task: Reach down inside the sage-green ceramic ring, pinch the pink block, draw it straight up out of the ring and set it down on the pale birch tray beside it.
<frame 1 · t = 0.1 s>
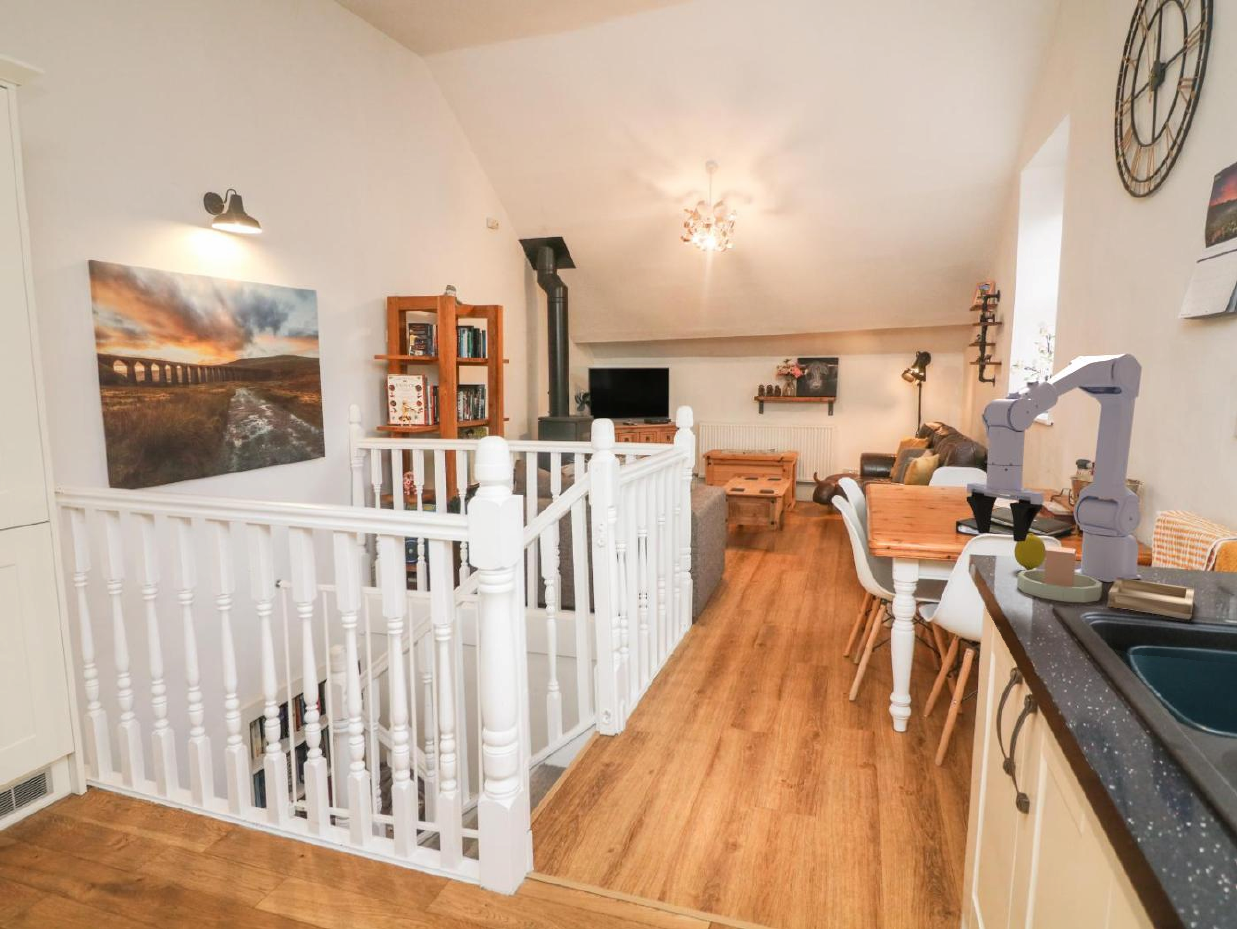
hand: (1001, 536, 127), 10 cm above the worktop, fingers open, 7 cm apart
ceramic ring: (1058, 591, 127), on the worktop
pink block: (1059, 570, 126), in the ceramic ring
lemon: (1028, 571, 142), on the worktop
birch tray: (1150, 604, 119), on the worktop
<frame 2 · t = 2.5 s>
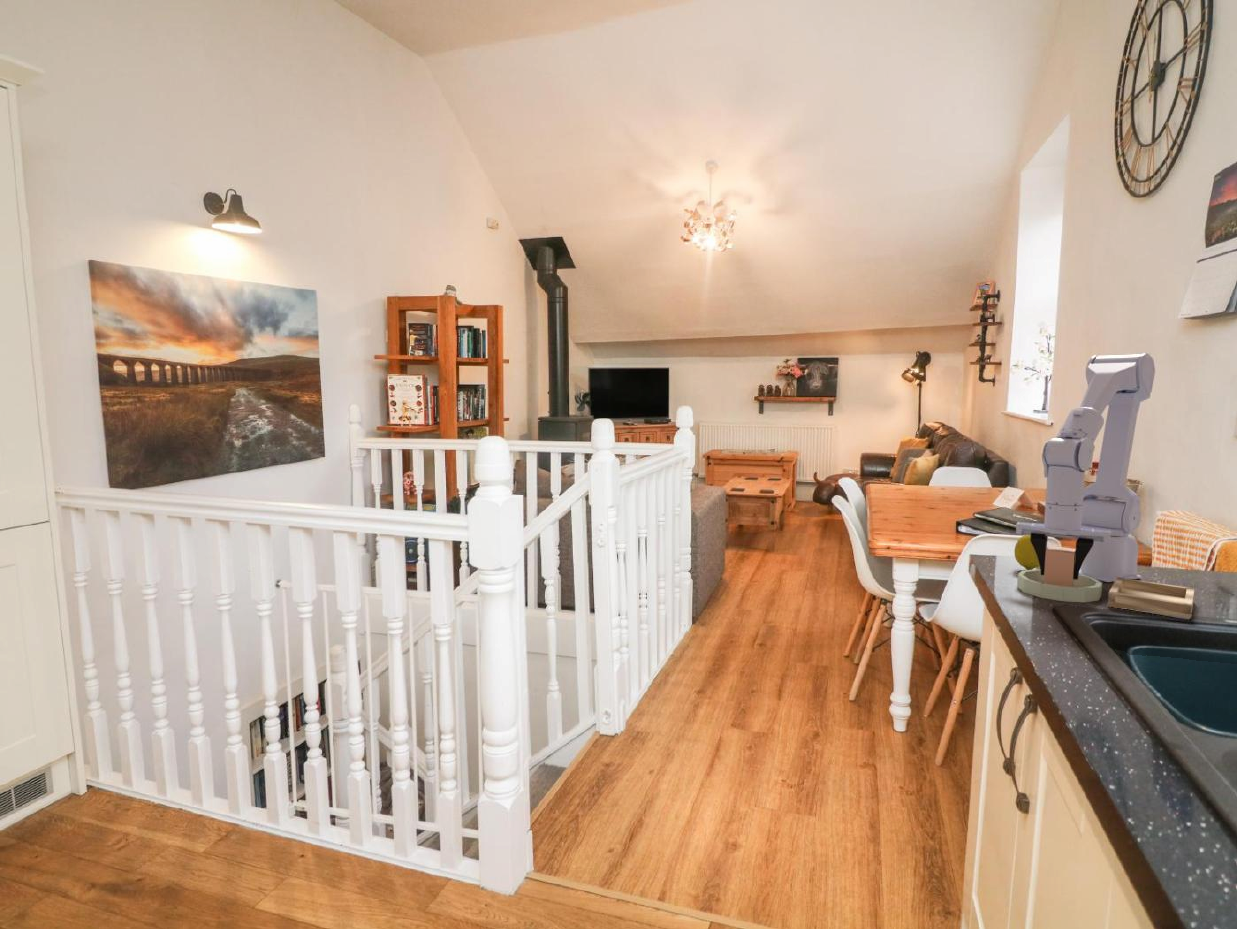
hand: (1059, 576, 127), 3 cm above the worktop, fingers closed on pink block, 4 cm apart
pink block: (1059, 570, 126), in the ceramic ring, touching gripper
everything else where it was.
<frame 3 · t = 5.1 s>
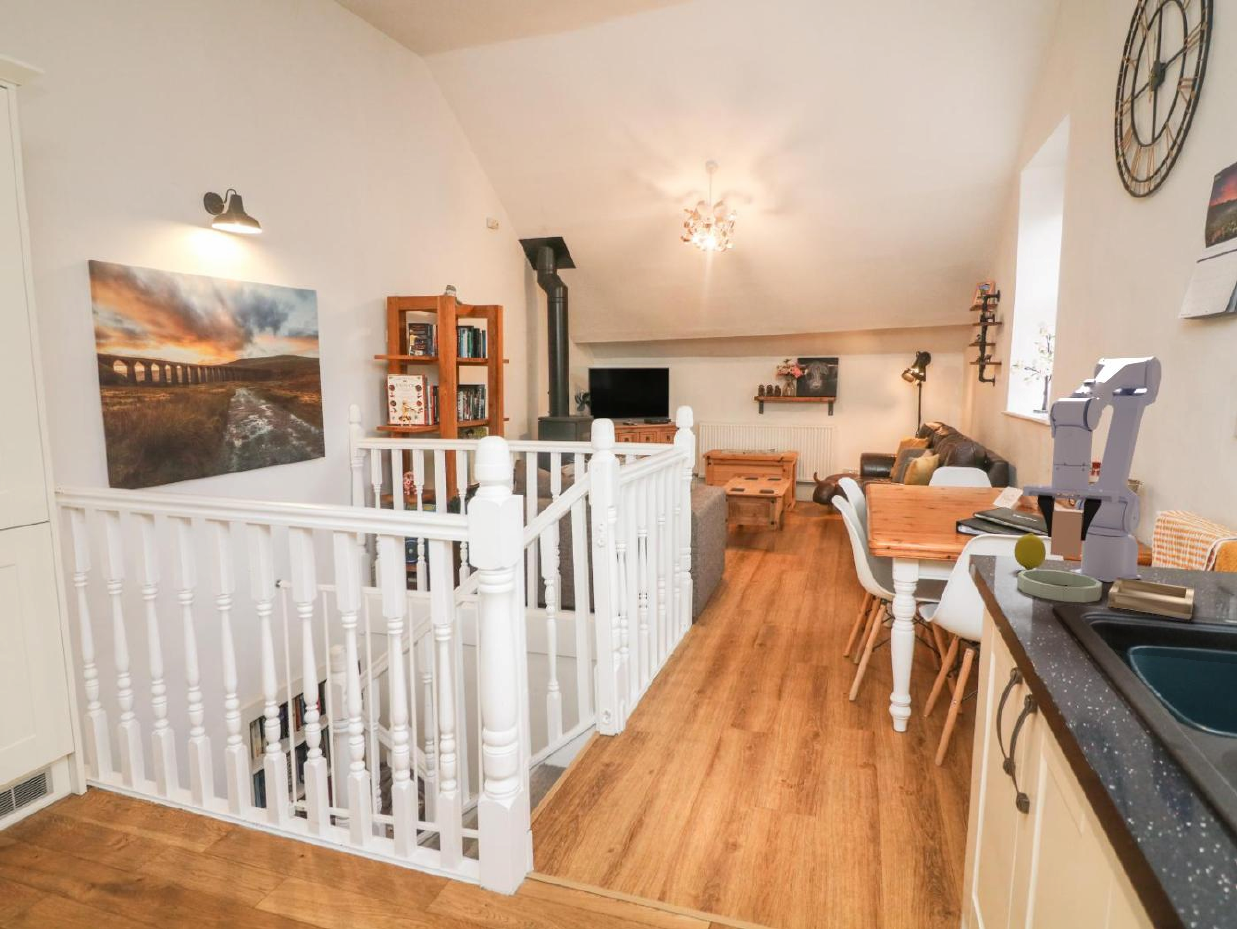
hand: (1066, 538, 125), 10 cm above the worktop, fingers closed on pink block, 4 cm apart
pink block: (1066, 532, 125), point 11 cm above the worktop, touching gripper
everything else where it was.
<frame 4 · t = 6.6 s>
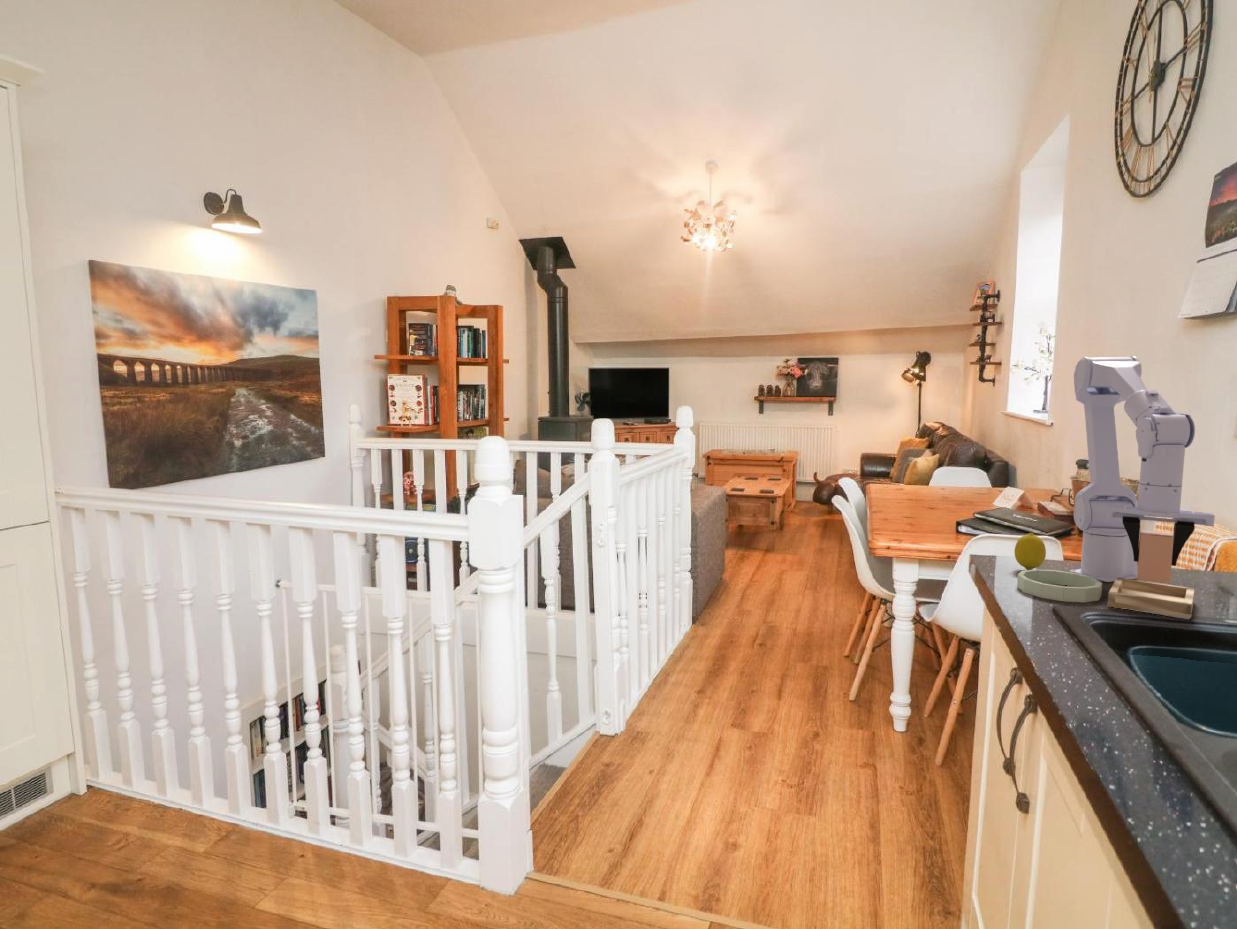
hand: (1154, 562, 118), 7 cm above the worktop, fingers closed on pink block, 4 cm apart
pink block: (1154, 556, 118), point 8 cm above the worktop, touching gripper
everything else where it was.
when the fingers open (5 cm above the worktop, at t = 7.8 s): pink block drops 1 cm, resting on birch tray.
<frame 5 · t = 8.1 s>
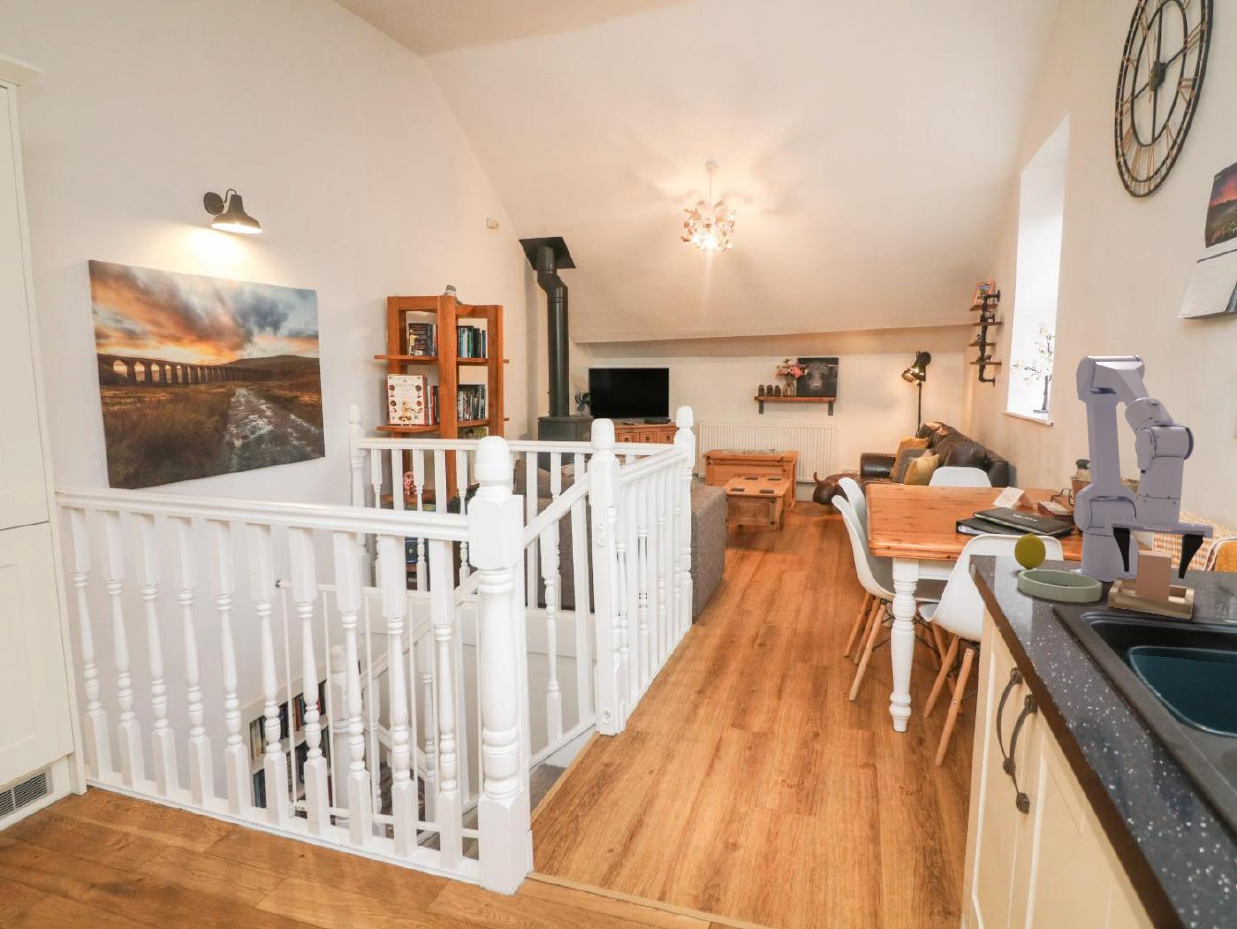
hand: (1153, 574, 118), 5 cm above the worktop, fingers open, 7 cm apart
pink block: (1152, 576, 118), in the birch tray, point 5 cm above the worktop
everything else where it was.
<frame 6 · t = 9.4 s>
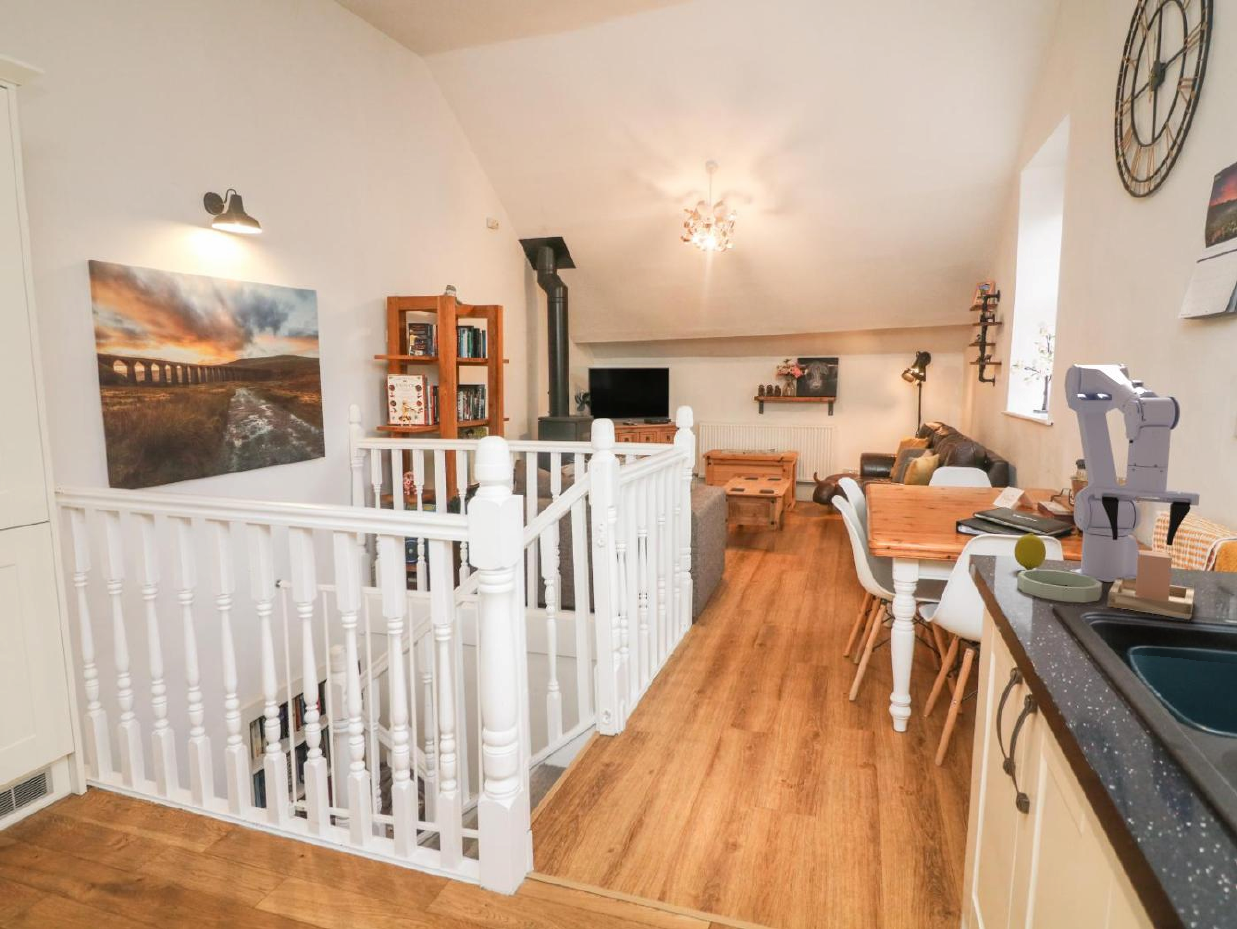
hand: (1141, 541, 122), 10 cm above the worktop, fingers open, 7 cm apart
nothing on the worktop moved.
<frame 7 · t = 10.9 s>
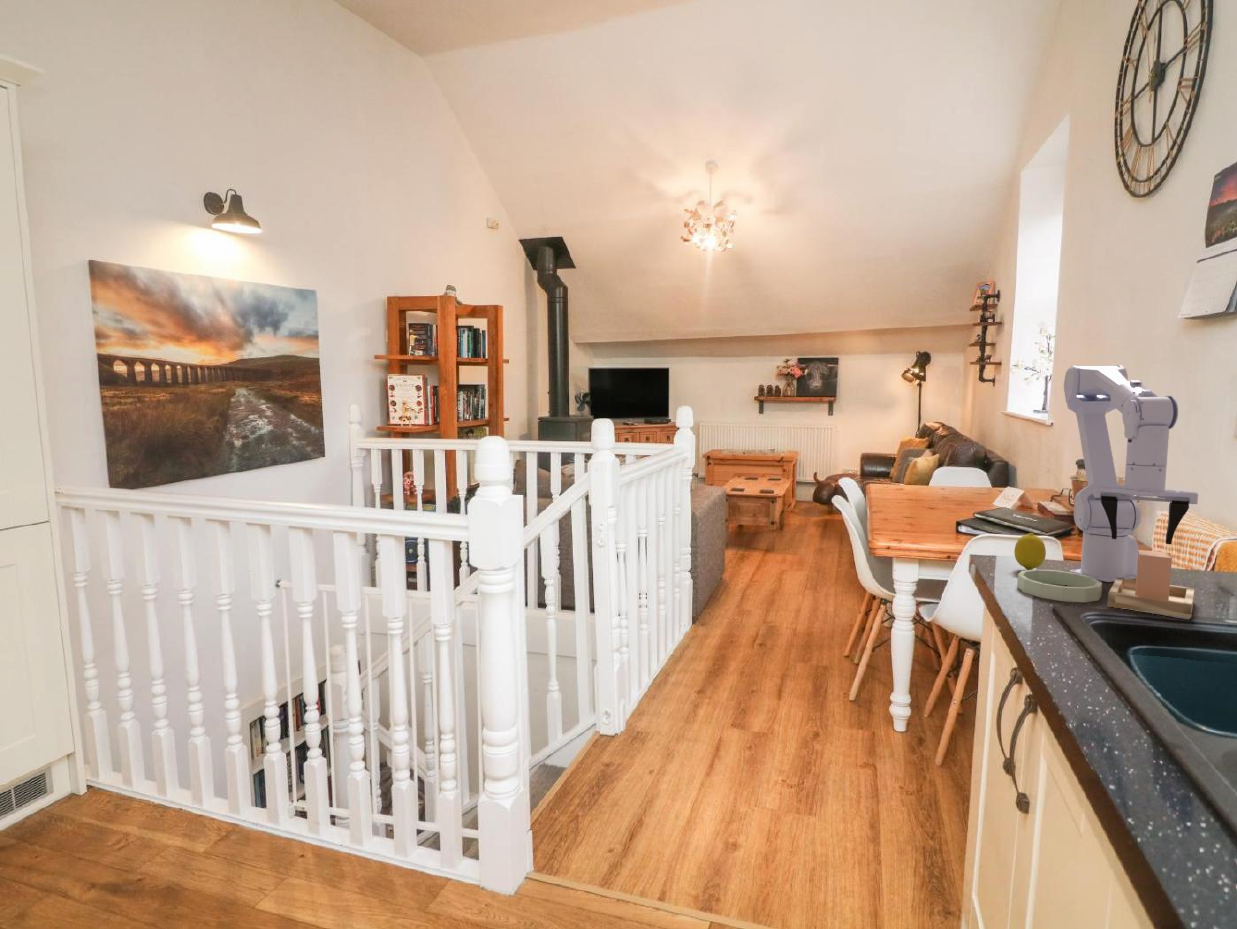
hand: (1140, 540, 122), 10 cm above the worktop, fingers open, 7 cm apart
nothing on the worktop moved.
at the end: pink block inside the target area on the birch tray (0.0 cm from its centre), point 5.0 cm above the birch tray's base; the gripper is holding nothing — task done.
